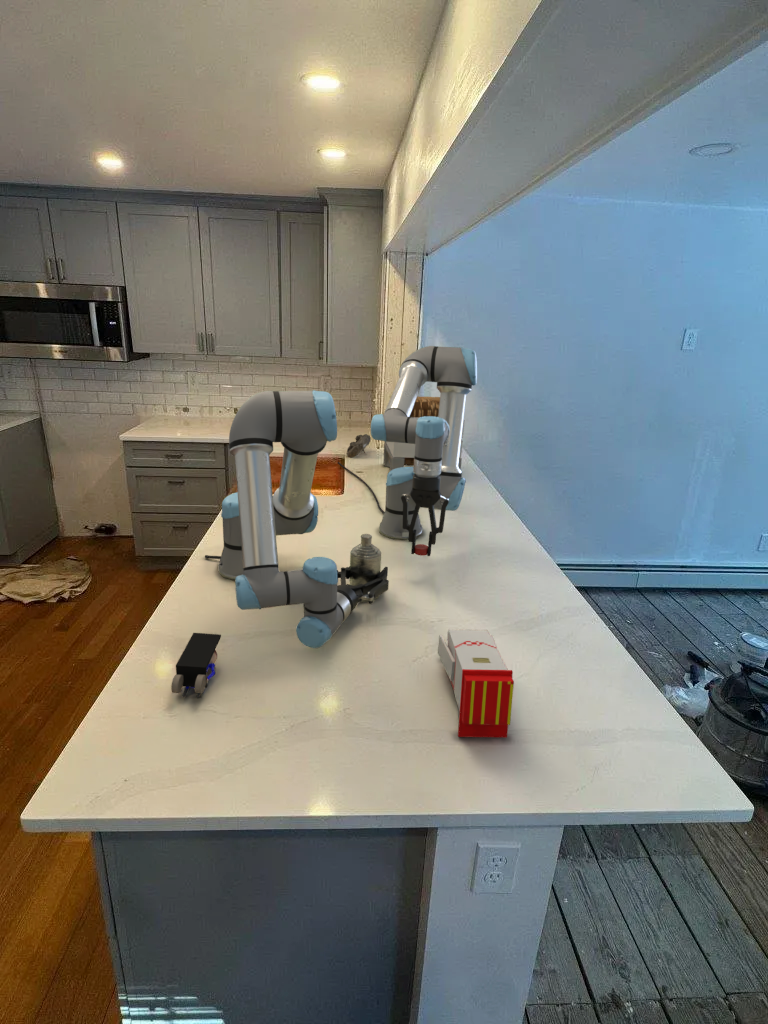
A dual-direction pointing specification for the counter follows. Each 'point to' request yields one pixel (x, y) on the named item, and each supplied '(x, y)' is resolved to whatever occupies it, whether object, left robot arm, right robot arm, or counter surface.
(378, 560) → the bottle
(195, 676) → the black toy vehicle
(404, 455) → the white slatted box
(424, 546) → the cap
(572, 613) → the counter surface
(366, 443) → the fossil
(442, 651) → the toy
